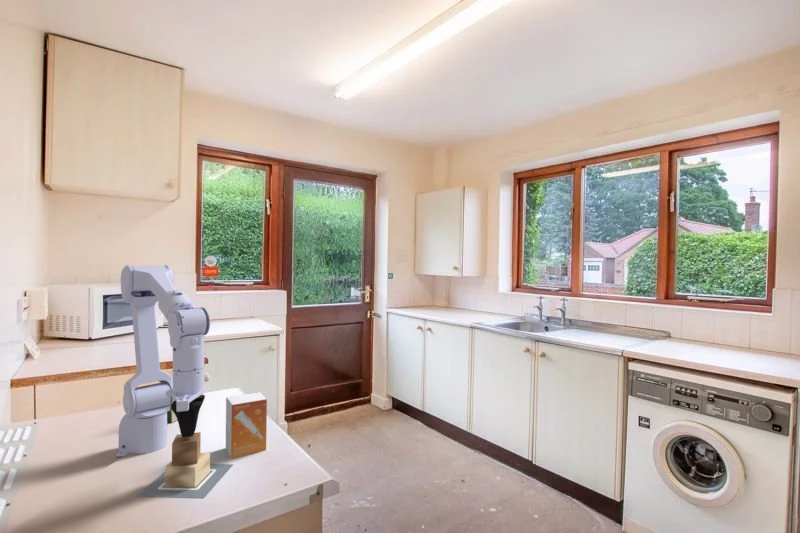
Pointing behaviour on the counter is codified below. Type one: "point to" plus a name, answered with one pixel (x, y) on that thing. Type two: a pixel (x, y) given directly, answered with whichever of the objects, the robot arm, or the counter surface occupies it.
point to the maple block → (187, 473)
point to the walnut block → (186, 449)
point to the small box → (246, 424)
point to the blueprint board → (199, 491)
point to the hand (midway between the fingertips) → (188, 434)
